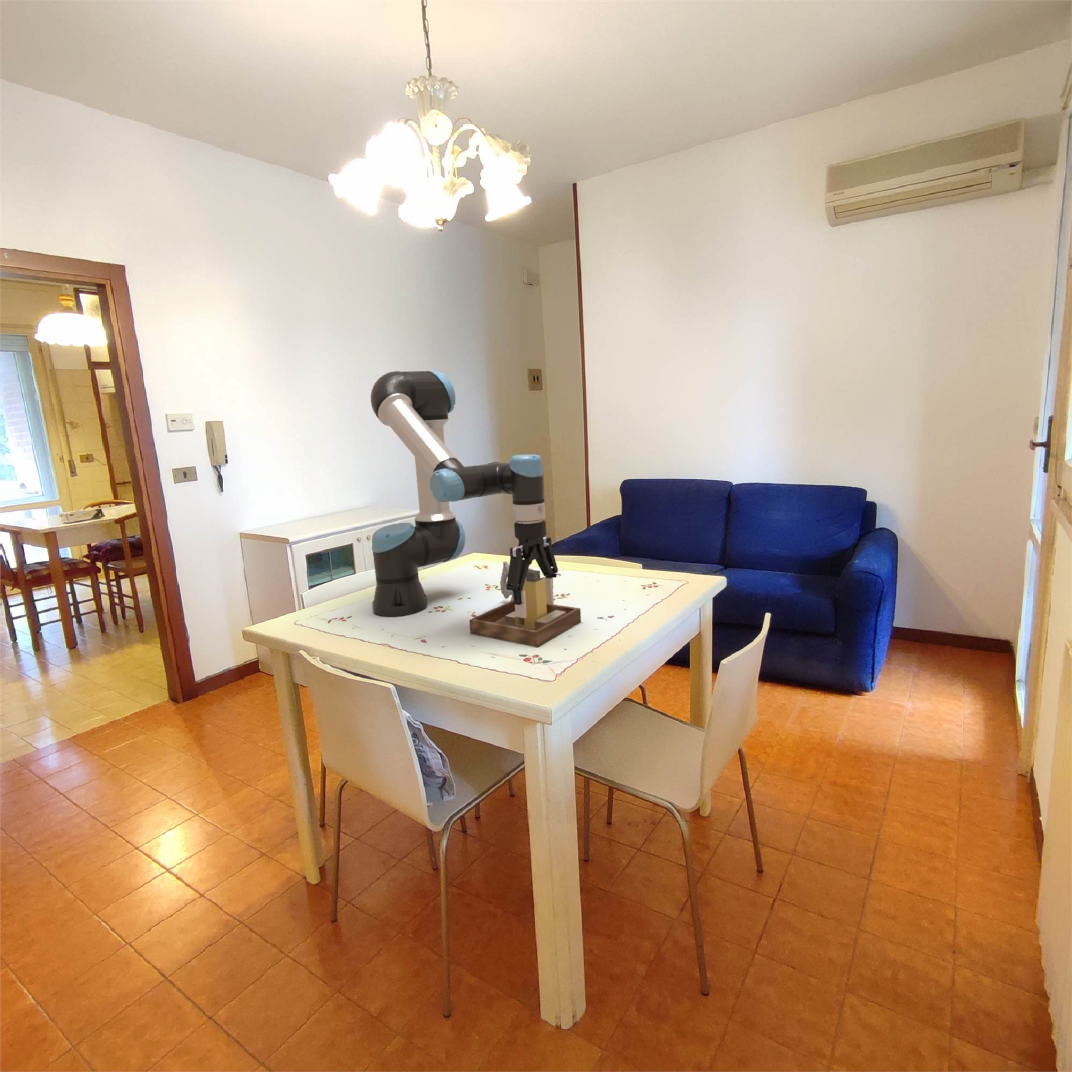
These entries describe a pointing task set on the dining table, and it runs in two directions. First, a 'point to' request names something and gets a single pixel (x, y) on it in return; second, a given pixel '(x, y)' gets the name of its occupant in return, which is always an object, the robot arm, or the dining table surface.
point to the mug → (503, 581)
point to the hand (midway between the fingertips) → (535, 609)
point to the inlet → (539, 623)
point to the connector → (534, 597)
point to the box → (496, 628)
